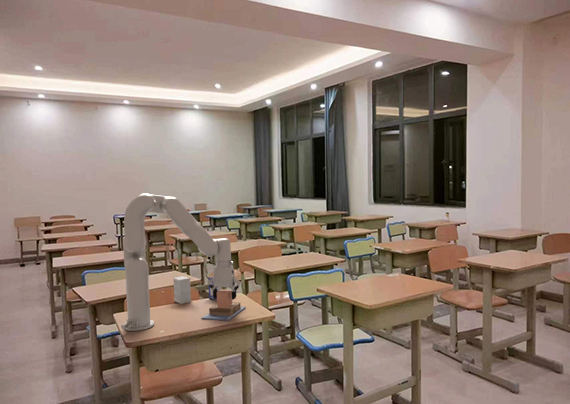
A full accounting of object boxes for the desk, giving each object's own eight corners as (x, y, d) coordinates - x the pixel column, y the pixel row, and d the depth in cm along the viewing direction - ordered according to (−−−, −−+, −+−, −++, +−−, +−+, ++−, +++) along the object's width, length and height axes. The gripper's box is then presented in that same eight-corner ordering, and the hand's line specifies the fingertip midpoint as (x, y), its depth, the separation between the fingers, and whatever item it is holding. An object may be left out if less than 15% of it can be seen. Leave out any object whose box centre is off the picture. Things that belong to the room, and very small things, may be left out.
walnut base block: (230, 315, 191) (230, 309, 191) (209, 314, 194) (209, 308, 194) (240, 308, 203) (240, 302, 202) (220, 307, 206) (220, 301, 206)
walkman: (209, 298, 225) (208, 277, 224) (212, 297, 227) (211, 276, 227) (219, 300, 221) (218, 278, 220) (223, 299, 223) (222, 277, 223)
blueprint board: (228, 320, 186) (228, 319, 186) (201, 318, 190) (201, 317, 190) (245, 308, 205) (245, 306, 205) (220, 306, 209) (220, 305, 209)
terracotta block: (227, 307, 195) (227, 292, 195) (217, 306, 196) (216, 292, 196) (232, 303, 200) (231, 289, 200) (222, 303, 202) (221, 289, 202)
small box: (191, 301, 220) (190, 278, 220) (180, 304, 216) (179, 280, 216) (184, 299, 226) (183, 275, 226) (174, 301, 222) (173, 277, 222)
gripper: (242, 262, 199) (244, 297, 199) (210, 261, 204) (212, 295, 204) (236, 265, 192) (238, 301, 192) (203, 264, 197) (205, 299, 197)
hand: (224, 298), depth 198 cm, fingers open, 9 cm apart
